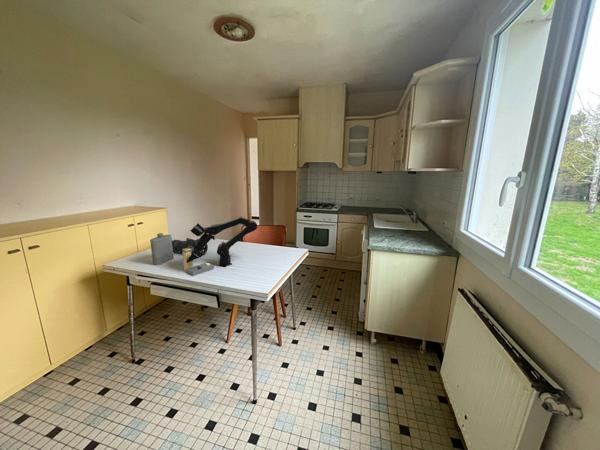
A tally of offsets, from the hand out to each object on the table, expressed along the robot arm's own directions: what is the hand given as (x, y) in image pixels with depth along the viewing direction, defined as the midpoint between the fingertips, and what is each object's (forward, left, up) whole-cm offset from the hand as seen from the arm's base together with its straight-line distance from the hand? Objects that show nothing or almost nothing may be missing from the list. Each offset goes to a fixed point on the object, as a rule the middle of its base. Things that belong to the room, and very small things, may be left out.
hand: (185, 260), depth 145 cm
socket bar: (-5, +7, -7) cm, 11 cm away
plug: (-1, 0, -7) cm, 7 cm away
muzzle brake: (-16, -29, -7) cm, 34 cm away
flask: (+3, -27, -7) cm, 28 cm away
